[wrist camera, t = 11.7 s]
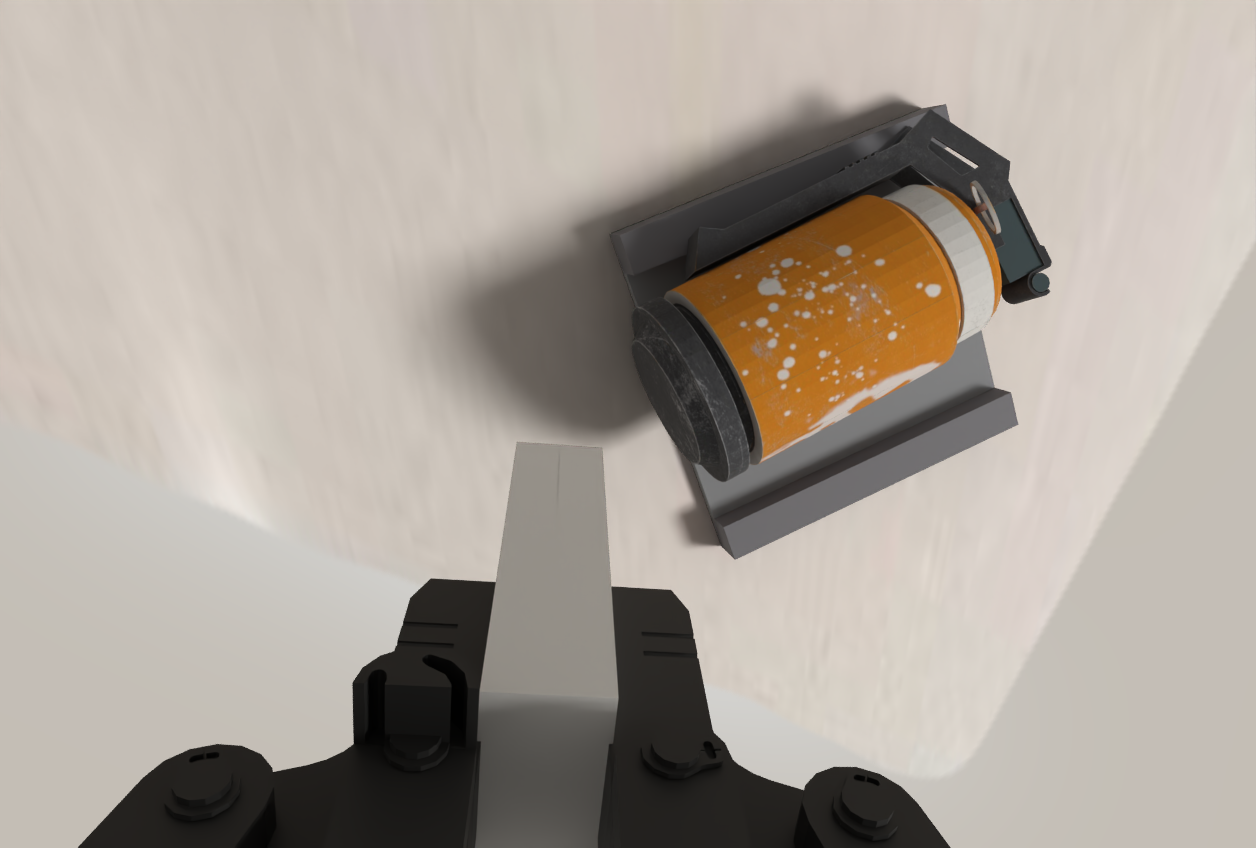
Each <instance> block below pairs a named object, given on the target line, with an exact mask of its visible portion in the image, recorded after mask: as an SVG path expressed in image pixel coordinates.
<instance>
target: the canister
mask: <svg viewBox="0 0 1256 848" xmlns="http://www.w3.org/2000/svg"><path fill="white" fill-rule="evenodd" d="M932 138H934V139H936V140H938V141H939V142H941V143H942V144H944V145H946V146H947V147H949V148H950V149H952V150H954V151H955V152H957V153H958V154H960V155H962V156H963V157H965V158H966V159H968V160H970V161H971V162H973V163H974V164H976V165H978V168H976V169H974V168H973V167H971V166H970V165H968V164H966V163H965V162H963V161H962V160H960V159H959V158H957V157H956V156H954V155H953V154H951V153H950V152H948V151H947V150H945V149H944V148H942V147H941V146H939V145H938V144H936V143H935V142H933V141H932V140H931V139H932ZM912 167H913V168H914V169H913V168H912ZM1009 169H1010V161H1009V160H1007V159H1005V158H1004V157H1002V156H1001V155H999V154H998V153H996V152H995V151H993V150H992V149H990V148H989V147H987V146H985V145H984V144H982V143H981V142H979V141H978V140H976V139H975V138H973V137H972V136H970V135H969V134H967V133H966V132H964V131H963V130H961V129H960V128H958V127H957V126H955V125H954V124H952V123H951V122H949V121H948V120H946V119H945V118H943V117H942V116H940V115H939V114H937V113H936V112H934V111H933V110H931V109H929V110H928V111H927V113H926V114H925V115H924V116H923V117H922V118H921V119H920V120H919V121H918V123H917V124H916V125H915V126H914V127H913V128H912V127H910V126H908V127H907V128H906V129H905V130H904V132H903V133H902V134H901V135H900V136H899V137H898V138H897V139H896V140H895V142H894V143H893V144H892V145H891V146H890V147H889V148H888V149H886V150H884V151H882V152H880V153H879V152H878V151H875V152H873V153H872V154H871V155H870V154H869V155H867V156H865V157H864V158H861V159H859V160H858V161H856V162H853V163H851V164H850V165H849V166H848V165H847V166H845V167H843V168H842V169H841V170H840V171H838V172H837V173H836V174H835V175H833V176H831V177H829V178H827V179H825V180H823V181H821V182H819V183H817V184H815V185H813V186H811V187H809V188H807V189H805V190H803V191H801V192H799V193H797V194H795V195H793V196H790V197H788V198H786V199H784V200H782V201H780V202H778V203H776V204H774V205H772V206H770V207H768V208H766V209H764V210H762V211H760V212H758V213H756V214H754V215H752V216H750V217H748V218H746V219H744V220H742V221H740V222H738V223H736V224H734V225H732V226H730V227H727V228H725V229H716V228H706V227H699V228H698V229H697V230H696V231H695V232H694V233H693V234H692V236H691V237H690V238H689V240H688V250H687V260H686V271H685V281H686V280H688V279H690V278H692V277H694V276H696V275H698V274H700V273H702V272H704V271H706V270H708V269H710V268H712V267H714V266H716V265H718V264H720V263H722V262H724V261H726V260H728V259H730V258H732V257H734V256H736V255H738V254H740V253H742V252H744V251H746V250H748V249H750V248H752V247H754V246H756V245H758V244H760V243H762V242H764V241H766V240H768V239H770V238H772V237H774V236H777V235H779V234H781V233H783V232H785V231H787V230H789V229H791V228H793V227H795V226H797V225H799V224H801V223H803V222H805V221H807V220H809V219H811V218H813V217H815V216H817V215H819V214H821V213H823V212H825V211H827V210H829V209H831V208H833V207H835V206H837V205H839V204H841V203H843V202H845V201H847V200H849V199H851V198H853V197H855V196H857V195H859V194H861V193H863V192H865V191H867V190H869V189H871V188H873V187H875V186H877V185H879V184H881V183H883V182H885V181H887V180H891V181H892V182H894V183H895V184H896V185H898V186H899V187H900V188H901V189H899V190H897V191H895V192H893V193H891V194H889V195H887V196H885V197H883V198H880V197H878V196H873V195H862V196H859V197H857V198H855V199H853V200H851V201H849V202H847V203H845V204H842V205H840V206H838V207H836V208H834V209H832V210H830V211H828V212H826V213H824V214H822V215H820V216H818V217H816V218H814V219H812V220H810V221H808V222H806V223H804V224H802V225H800V226H798V227H796V228H794V229H792V230H790V231H788V232H786V233H784V234H782V235H780V236H778V237H776V238H774V239H772V240H770V241H768V242H766V243H764V244H762V245H760V246H758V247H756V248H754V249H752V250H750V251H748V252H746V253H744V254H742V255H740V256H738V257H736V258H734V259H732V260H730V261H728V262H726V263H724V264H722V265H720V266H718V267H716V268H714V269H712V270H710V271H708V272H706V273H704V274H702V275H700V276H698V277H696V278H694V279H692V280H690V281H688V282H686V283H684V284H682V285H680V286H678V287H676V288H674V289H672V290H670V291H668V292H666V294H665V296H664V298H662V297H656V298H654V299H652V300H650V301H648V302H646V303H644V304H642V305H640V306H638V307H636V308H634V309H633V311H632V326H633V331H634V335H635V338H634V340H633V342H632V353H633V358H634V362H635V365H636V368H637V371H638V374H639V376H640V379H641V381H642V384H643V386H644V388H645V391H646V393H647V395H648V397H649V399H650V401H651V403H652V405H653V407H654V409H655V411H656V413H657V415H658V417H659V418H660V420H661V422H662V424H663V425H664V427H665V429H666V430H667V432H668V434H669V435H670V437H671V438H672V440H673V441H674V443H675V444H676V445H677V447H678V448H679V449H680V451H681V452H682V453H683V454H684V455H685V456H686V458H687V459H689V460H690V461H691V462H692V463H694V464H698V465H702V467H703V468H704V469H705V470H706V471H707V472H708V473H709V474H710V475H711V476H712V477H713V478H715V479H716V480H718V481H720V482H726V481H728V480H730V479H732V478H734V477H735V476H737V475H739V474H741V473H743V472H745V471H746V470H747V469H748V468H749V464H752V465H757V464H760V463H761V462H763V461H765V460H767V459H769V458H771V457H773V456H774V455H776V454H778V453H780V452H782V451H784V450H786V449H787V448H789V447H791V446H793V445H795V444H797V443H799V442H800V441H802V440H804V439H806V438H808V437H810V436H812V435H813V434H815V433H817V432H819V431H821V430H823V429H825V428H826V427H828V426H830V425H832V424H834V423H836V422H838V421H839V420H841V419H843V418H845V417H847V416H849V415H851V414H852V413H854V412H856V411H858V410H860V409H862V408H864V407H865V406H867V405H869V404H871V403H873V402H875V401H876V400H878V399H880V398H882V397H884V396H886V395H888V394H889V393H891V392H893V391H895V390H897V389H899V388H901V387H902V386H904V385H906V384H908V383H910V382H912V381H914V380H915V379H917V378H919V377H921V376H923V375H925V374H927V373H928V372H930V371H932V370H934V369H936V368H938V367H940V366H941V365H943V364H945V363H946V362H947V361H948V360H950V358H951V357H952V355H953V354H954V351H955V348H956V346H957V344H958V343H959V342H961V341H963V340H965V339H967V338H968V337H970V336H972V335H974V334H976V333H977V332H979V331H981V330H982V329H983V328H984V327H985V326H986V325H987V323H988V322H989V320H990V318H991V317H992V315H993V314H994V313H995V311H996V309H997V306H998V304H999V301H1000V296H1001V294H1002V297H1003V298H1004V300H1005V301H1006V302H1008V303H1010V304H1017V303H1021V302H1024V301H1028V300H1031V299H1035V298H1038V297H1041V296H1045V295H1047V294H1048V293H1049V292H1050V291H1049V289H1048V287H1049V284H1050V282H1049V278H1048V277H1047V276H1046V275H1045V274H1043V273H1039V272H1040V271H1042V270H1044V269H1046V268H1048V267H1050V266H1051V263H1052V261H1051V259H1050V257H1049V255H1048V253H1047V251H1046V249H1045V247H1044V246H1041V245H1040V244H1039V242H1038V240H1037V238H1036V236H1035V234H1034V232H1033V230H1032V228H1031V226H1030V224H1029V222H1028V220H1027V218H1026V216H1025V214H1024V212H1023V209H1022V207H1021V205H1020V203H1019V201H1018V199H1017V197H1016V195H1015V193H1014V191H1013V189H1012V187H1011V185H1010V183H1009V181H1008V179H1009ZM916 170H917V171H918V172H919V173H918V172H917V171H916ZM920 173H921V174H922V175H923V176H925V177H926V178H928V179H929V180H930V181H932V182H933V183H934V184H936V185H937V186H938V187H936V186H934V185H933V184H932V183H931V182H930V181H928V180H927V179H926V178H925V177H923V176H922V175H921V174H920ZM939 187H940V188H939ZM1037 273H1038V274H1037Z"/></svg>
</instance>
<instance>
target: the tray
mask: <svg viewBox="0 0 1256 848" xmlns="http://www.w3.org/2000/svg"><path fill="white" fill-rule="evenodd" d="M929 109H931V110H933V111H934V112H936V113H937V114H939V115H940V116H942V117H943V118H945V119H946V120H948V121H949V122H950V120H949V115H948V111H947V106H946V104H944V105H939V106H933V107H928V108H923V109H920V110H918V111H915V112H913V113H910V114H908V115H905V116H903V117H900V118H898V119H895V120H893V121H890V122H888V123H885V124H883V125H880V126H878V127H875V128H873V129H870V130H868V131H865V132H863V133H860V134H858V135H855V136H853V137H850V138H848V139H845V140H843V141H840V142H838V143H835V144H833V145H830V146H828V147H825V148H823V149H820V150H818V151H815V152H813V153H810V154H808V155H805V156H803V157H800V158H798V159H795V160H793V161H790V162H788V163H785V164H783V165H780V166H778V167H775V168H773V169H770V170H768V171H766V172H763V173H761V174H758V175H756V176H753V177H751V178H748V179H746V180H743V181H741V182H738V183H736V184H733V185H731V186H728V187H726V188H723V189H721V190H718V191H716V192H713V193H711V194H708V195H706V196H703V197H701V198H698V199H696V200H693V201H691V202H688V203H686V204H683V205H681V206H678V207H676V208H673V209H671V210H668V211H666V212H663V213H661V214H658V215H656V216H653V217H651V218H648V219H646V220H643V221H641V222H638V223H636V224H633V225H631V226H628V227H626V228H623V229H621V230H618V231H616V232H613V233H611V234H610V237H611V240H612V243H613V246H614V248H615V251H616V254H617V257H618V260H619V262H620V265H621V268H622V271H623V273H624V276H625V279H626V282H627V285H628V287H629V290H630V293H631V296H632V299H633V301H634V304H635V307H638V306H640V305H642V304H644V303H646V302H648V301H650V300H652V299H654V298H656V297H662V298H664V296H665V294H666V292H668V291H670V290H672V289H674V288H676V287H678V286H680V285H682V284H684V283H686V282H688V281H690V280H692V279H694V278H696V277H698V276H700V275H702V274H704V273H706V272H708V271H710V270H712V269H714V268H716V267H718V266H720V265H722V264H724V263H726V262H728V261H730V260H732V259H734V258H736V257H738V256H740V255H742V254H744V253H746V252H748V251H750V250H752V249H754V248H756V247H758V246H760V245H762V244H764V243H766V242H768V241H770V240H772V239H774V238H776V237H778V236H780V235H782V234H784V233H786V232H788V231H790V230H792V229H794V228H796V227H798V226H800V225H802V224H804V223H806V222H808V221H810V220H812V219H814V218H816V217H818V216H820V215H822V214H824V213H826V212H828V211H830V210H832V209H834V208H836V207H838V206H840V205H842V204H845V203H847V202H849V201H851V200H853V199H855V198H857V197H859V196H862V195H873V196H878V197H880V198H883V197H885V196H887V195H889V194H891V193H893V192H895V191H897V190H899V189H901V188H900V187H899V186H898V185H896V184H895V183H894V182H892V181H891V180H887V181H885V182H883V183H881V184H879V185H877V186H875V187H873V188H871V189H869V190H867V191H865V192H863V193H861V194H859V195H857V196H855V197H853V198H851V199H849V200H847V201H845V202H843V203H841V204H839V205H837V206H835V207H833V208H831V209H829V210H827V211H825V212H823V213H821V214H819V215H817V216H815V217H813V218H811V219H809V220H807V221H805V222H803V223H801V224H799V225H797V226H795V227H793V228H791V229H789V230H787V231H785V232H783V233H781V234H779V235H777V236H774V237H772V238H770V239H768V240H766V241H764V242H762V243H760V244H758V245H756V246H754V247H752V248H750V249H748V250H746V251H744V252H742V253H740V254H738V255H736V256H734V257H732V258H730V259H728V260H726V261H724V262H722V263H720V264H718V265H716V266H714V267H712V268H710V269H708V270H706V271H704V272H702V273H700V274H698V275H696V276H694V277H692V278H690V279H688V280H686V281H685V271H686V260H687V250H688V240H689V238H690V237H691V236H692V234H693V233H694V232H695V231H696V230H697V229H698V228H699V227H706V228H716V229H725V228H727V227H730V226H732V225H734V224H736V223H738V222H740V221H742V220H744V219H746V218H748V217H750V216H752V215H754V214H756V213H758V212H760V211H762V210H764V209H766V208H768V207H770V206H772V205H774V204H776V203H778V202H780V201H782V200H784V199H786V198H788V197H790V196H793V195H795V194H797V193H799V192H801V191H803V190H805V189H807V188H809V187H811V186H813V185H815V184H817V183H819V182H821V181H823V180H825V179H827V178H829V177H831V176H833V175H835V174H836V173H837V172H838V171H840V170H841V169H842V168H843V167H845V166H847V165H848V166H849V165H850V164H851V163H853V162H856V161H858V160H859V159H861V158H864V157H865V156H867V155H869V154H870V155H871V154H872V153H873V152H875V151H878V152H879V153H880V152H882V151H884V150H886V149H888V148H889V147H890V146H891V145H892V144H893V143H894V142H895V140H896V139H897V138H898V137H899V136H900V135H901V134H902V133H903V132H904V130H905V129H906V128H907V127H908V126H910V127H912V128H913V127H914V126H915V125H916V124H917V123H918V121H919V120H920V119H921V118H922V117H923V116H924V115H925V114H926V113H927V111H928V110H929ZM931 140H932V141H933V142H935V143H936V144H938V145H939V146H941V147H942V148H946V147H947V146H946V145H944V144H942V143H941V142H939V141H938V140H936V139H934V138H932V139H931ZM912 168H913V167H912ZM913 169H914V168H913ZM916 171H917V170H916ZM917 172H918V171H917ZM918 173H919V172H918ZM920 174H921V173H920ZM921 175H922V174H921ZM922 176H923V175H922ZM923 177H925V176H923ZM925 178H926V177H925ZM926 179H927V180H928V181H930V180H929V179H928V178H926ZM930 182H931V183H932V184H933V185H934V186H936V187H938V186H937V185H936V184H934V183H933V182H932V181H930ZM939 188H940V187H939ZM1016 425H1018V422H1017V417H1016V413H1015V408H1014V404H1013V399H1012V395H1011V392H1007V391H1004V390H1001V389H997V388H994V383H993V379H992V375H991V370H990V366H989V362H988V357H987V353H986V349H985V344H984V340H983V336H982V331H979V332H977V333H976V334H974V335H972V336H970V337H968V338H967V339H965V340H963V341H961V342H959V343H958V344H957V346H956V348H955V351H954V354H953V355H952V357H951V358H950V360H948V361H947V362H946V363H945V364H943V365H941V366H940V367H938V368H936V369H934V370H932V371H930V372H928V373H927V374H925V375H923V376H921V377H919V378H917V379H915V380H914V381H912V382H910V383H908V384H906V385H904V386H902V387H901V388H899V389H897V390H895V391H893V392H891V393H889V394H888V395H886V396H884V397H882V398H880V399H878V400H876V401H875V402H873V403H871V404H869V405H867V406H865V407H864V408H862V409H860V410H858V411H856V412H854V413H852V414H851V415H849V416H847V417H845V418H843V419H841V420H839V421H838V422H836V423H834V424H832V425H830V426H828V427H826V428H825V429H823V430H821V431H819V432H817V433H815V434H813V435H812V436H810V437H808V438H806V439H804V440H802V441H800V442H799V443H797V444H795V445H793V446H791V447H789V448H787V449H786V450H784V451H782V452H780V453H778V454H776V455H774V456H773V457H771V458H769V459H767V460H765V461H763V462H761V463H760V464H757V465H752V464H749V468H748V469H747V470H746V471H745V472H743V473H741V474H739V475H737V476H735V477H734V478H732V479H730V480H728V481H726V482H720V481H718V480H716V479H715V478H713V477H712V476H711V475H710V474H709V473H708V472H707V471H706V470H705V469H704V468H703V467H702V465H698V464H694V463H692V462H691V463H692V466H693V469H694V471H695V474H696V477H697V480H698V483H699V485H700V488H701V491H702V494H703V497H704V499H705V502H706V505H707V508H708V511H709V513H710V516H711V519H712V522H713V524H714V527H715V530H716V533H717V536H718V538H719V541H720V544H721V546H722V547H723V548H724V549H725V550H726V551H727V552H728V553H729V554H730V555H731V556H732V557H733V558H734V559H738V558H740V557H742V556H744V555H746V554H748V553H750V552H752V551H754V550H756V549H758V548H761V547H763V546H765V545H767V544H769V543H771V542H773V541H775V540H777V539H779V538H782V537H784V536H786V535H788V534H790V533H792V532H794V531H796V530H798V529H800V528H802V527H805V526H807V525H809V524H811V523H813V522H815V521H817V520H819V519H821V518H823V517H826V516H828V515H830V514H832V513H834V512H836V511H838V510H840V509H842V508H844V507H846V506H849V505H851V504H853V503H855V502H857V501H859V500H861V499H863V498H865V497H867V496H869V495H872V494H874V493H876V492H878V491H880V490H882V489H884V488H886V487H888V486H890V485H893V484H895V483H897V482H899V481H901V480H903V479H905V478H907V477H909V476H911V475H913V474H916V473H918V472H920V471H922V470H924V469H926V468H928V467H930V466H932V465H934V464H937V463H939V462H941V461H943V460H945V459H947V458H949V457H951V456H953V455H955V454H957V453H960V452H962V451H964V450H966V449H968V448H970V447H972V446H974V445H976V444H978V443H980V442H983V441H985V440H987V439H989V438H991V437H993V436H995V435H997V434H999V433H1001V432H1004V431H1006V430H1008V429H1010V428H1012V427H1014V426H1016Z"/></svg>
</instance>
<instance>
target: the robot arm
mask: <svg viewBox="0 0 1256 848" xmlns="http://www.w3.org/2000/svg"><path fill="white" fill-rule="evenodd" d="M693 635H694V634H693V629H692V624H691V619H690V614H689V611H688V609H687V608H686V607H685V606H684V605H683V604H682V602H681V601H680V600H679V599H678V598H677V596H676V595H675V594H674V593H673V592H672V591H671V590H662V589H645V588H628V587H611V574H610V559H609V544H608V528H607V513H606V498H605V482H604V467H603V451H602V448H596V447H582V446H569V445H555V444H541V443H527V442H517V444H516V451H515V458H514V464H513V471H512V478H511V484H510V491H509V498H508V505H507V511H506V518H505V525H504V531H503V538H502V545H501V551H500V558H499V565H498V571H497V578H496V582H482V581H465V580H448V579H430V580H429V581H428V582H427V583H426V584H425V585H424V586H423V587H421V588H420V589H419V590H418V591H417V592H416V593H415V594H414V595H413V596H412V597H411V598H410V601H409V604H408V608H407V611H406V615H405V618H404V621H403V626H402V628H401V631H400V635H399V638H398V642H397V646H396V648H395V651H394V652H391V653H388V654H384V655H381V656H379V657H378V658H377V659H375V660H373V661H372V662H370V663H369V664H368V665H366V666H364V667H363V668H362V669H361V671H360V673H359V674H358V675H357V677H356V678H355V680H354V681H353V727H354V728H353V729H354V730H353V733H354V744H353V745H352V746H351V747H349V748H348V749H347V750H345V751H344V752H342V753H340V754H337V755H335V756H333V757H331V758H329V759H327V760H324V761H320V762H317V763H313V764H310V765H306V766H301V767H296V768H291V769H286V770H281V771H277V772H273V770H272V767H271V766H270V765H269V763H267V761H266V760H265V759H264V757H263V756H262V755H261V754H259V753H257V752H255V751H252V750H250V749H248V748H245V747H243V746H235V745H221V744H216V745H211V746H205V747H200V748H194V749H190V750H187V751H185V752H183V753H181V754H179V755H176V756H174V757H172V758H170V759H167V760H165V761H164V762H162V763H161V764H160V765H159V766H157V767H156V768H155V769H154V770H152V771H151V772H150V773H148V774H147V775H146V776H145V777H143V779H142V780H141V781H140V782H139V783H138V784H137V785H136V786H135V787H134V788H133V789H132V790H131V791H130V792H129V793H128V794H127V796H126V797H125V798H124V799H123V800H122V801H121V802H120V803H119V804H118V805H117V806H116V807H115V808H114V809H113V810H112V812H111V813H110V814H109V815H108V816H107V817H106V818H105V819H104V820H103V821H102V822H101V823H100V824H99V825H98V826H97V828H96V829H95V830H94V831H93V832H92V833H91V834H90V835H89V836H88V837H87V838H86V839H85V840H84V841H83V843H82V844H81V845H80V846H79V847H78V848H950V846H949V845H948V844H947V842H946V841H945V840H944V838H943V837H942V836H941V834H940V833H939V832H938V830H937V829H936V827H935V826H934V825H933V824H932V822H931V821H930V820H929V818H928V817H927V815H926V814H925V813H924V811H923V810H922V809H921V807H920V806H919V805H918V803H917V802H916V801H915V800H914V799H913V798H912V797H911V796H910V795H909V794H908V793H907V792H906V791H905V790H904V789H903V788H902V787H901V786H899V785H897V784H896V783H894V782H892V781H891V780H889V779H887V778H885V777H884V776H882V775H880V774H878V773H874V772H871V771H867V770H864V769H861V768H857V767H833V768H830V769H827V770H824V771H822V772H819V773H816V774H815V775H814V777H813V778H812V779H811V780H810V781H809V782H808V783H807V784H806V785H805V789H804V790H801V789H798V788H794V787H791V786H787V785H784V784H781V783H778V782H774V781H771V780H768V779H766V778H763V777H761V776H758V775H755V774H753V773H751V772H750V771H748V770H746V769H745V768H743V767H741V766H740V765H738V764H737V763H736V762H734V760H733V759H732V757H731V755H730V753H729V751H728V749H727V747H726V745H725V743H724V742H723V741H722V740H721V739H720V738H719V737H718V736H717V735H716V734H714V732H713V730H712V725H711V719H710V715H709V710H708V704H707V699H706V694H705V689H704V684H703V679H702V674H701V669H700V664H699V659H698V658H697V649H696V644H695V639H693Z"/></svg>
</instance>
